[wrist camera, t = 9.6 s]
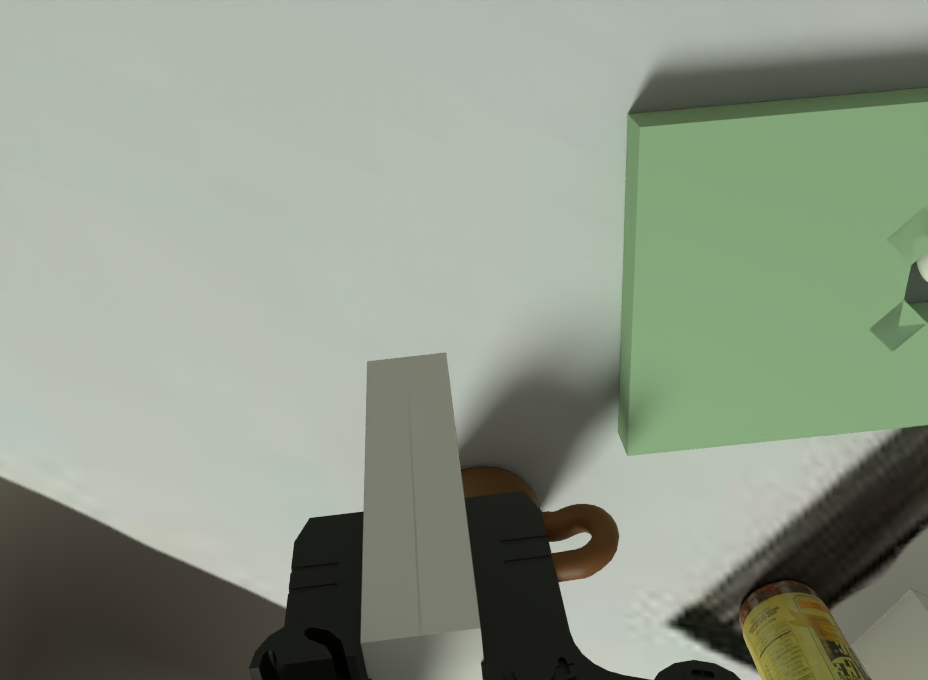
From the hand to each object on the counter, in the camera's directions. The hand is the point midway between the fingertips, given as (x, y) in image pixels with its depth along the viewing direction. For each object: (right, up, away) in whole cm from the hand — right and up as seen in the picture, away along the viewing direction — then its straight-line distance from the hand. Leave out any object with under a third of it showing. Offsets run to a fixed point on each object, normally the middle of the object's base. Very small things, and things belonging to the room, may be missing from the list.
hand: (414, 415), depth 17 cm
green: (+22, +6, +33) cm, 40 cm away
